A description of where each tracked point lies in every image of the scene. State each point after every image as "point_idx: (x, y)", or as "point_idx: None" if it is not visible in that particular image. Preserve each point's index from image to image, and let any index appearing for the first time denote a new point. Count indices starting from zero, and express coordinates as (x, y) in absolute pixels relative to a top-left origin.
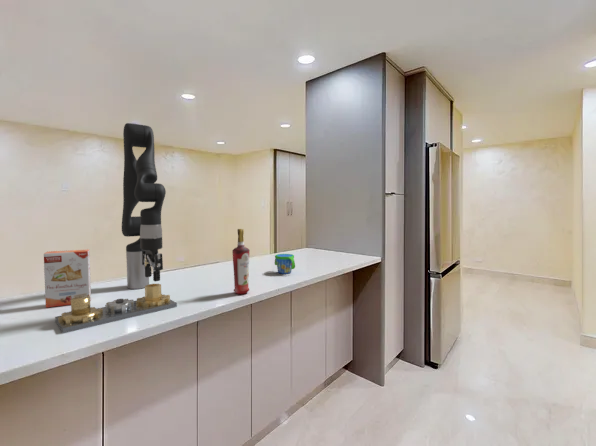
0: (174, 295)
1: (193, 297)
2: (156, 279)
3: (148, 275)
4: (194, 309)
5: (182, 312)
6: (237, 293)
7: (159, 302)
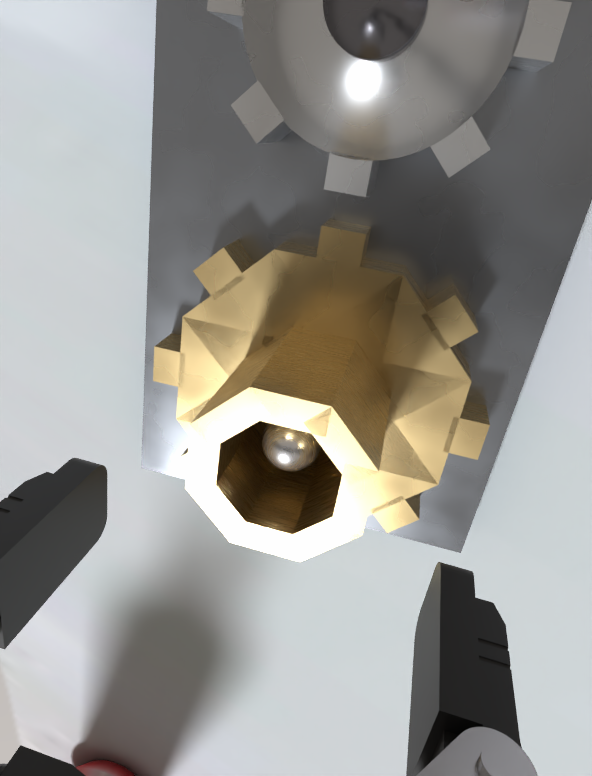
0: None
1: (271, 642)
2: (39, 485)
3: (426, 607)
4: (12, 465)
5: (5, 386)
6: (101, 763)
7: (156, 359)
